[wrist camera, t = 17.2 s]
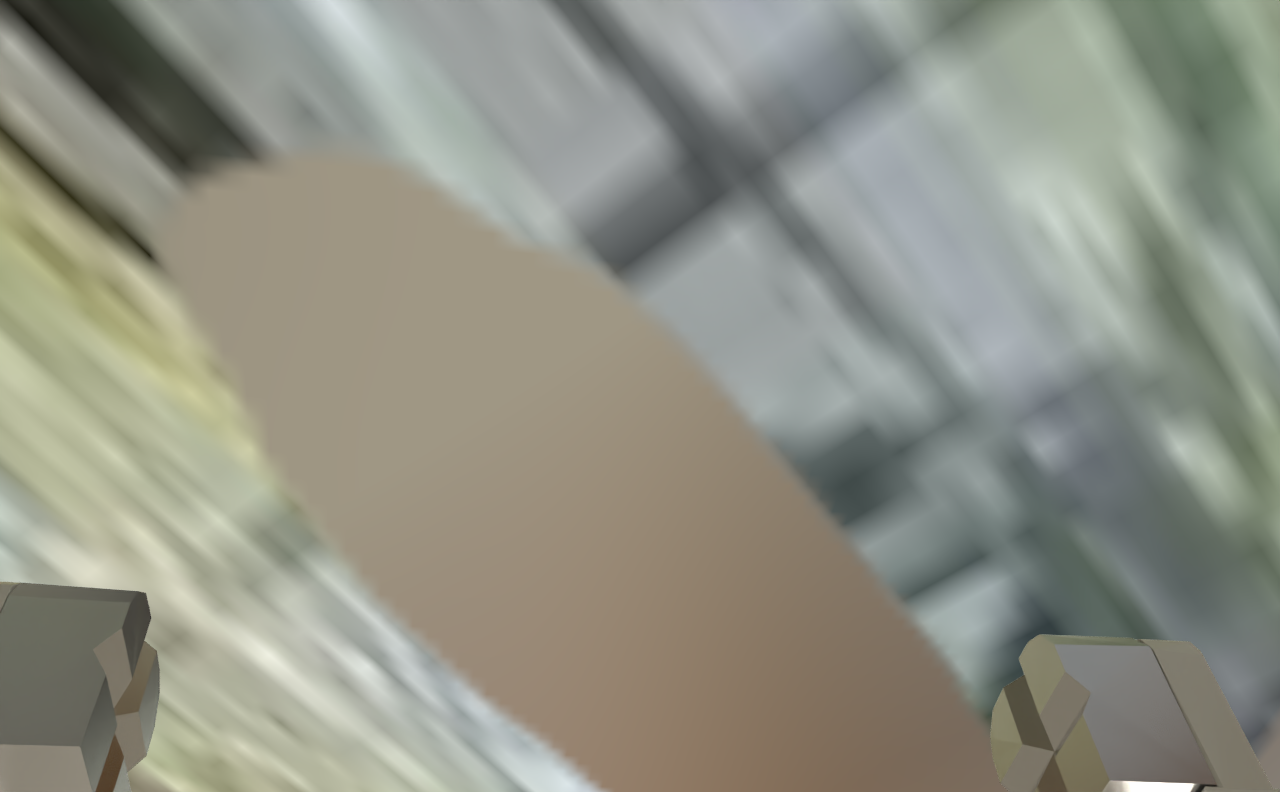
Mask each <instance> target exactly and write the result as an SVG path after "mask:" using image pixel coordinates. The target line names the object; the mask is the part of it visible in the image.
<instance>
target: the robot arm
mask: <svg viewBox="0 0 1280 792" xmlns="http://www.w3.org/2000/svg"><path fill="white" fill-rule="evenodd" d="M150 621H151V614H150V609H149V605H148V600H147V595H146V593H144V592H139V591H125V590H112V589H99V588H85V587H72V586H58V585H45V584H31V583H13V582H0V792H131V789H130V784H129V779H128V774H127V772H128V771H129V770H131V769H132V768H133V767H134V766H135V765H136V764H138V763H139V762H140V761H141V760H142V759H143V758H144V757H146V756H147V752H148V748H149V745H150V741H151V738H152V734H153V730H154V727H155V720H156V714H157V707H158V700H159V694H160V669H159V662H158V655H157V651H156V650H155V649H154V648H153V647H151V646H150V645H149V644H148V643H147V642H145V641H144V640H145V637H146V633H147V630H148V627H149V624H150ZM1019 661H1020V663H1021V666H1022V669H1023V672H1024V674H1025V675H1023V676H1022V677H1020V678H1018V679H1017V680H1015V681H1014V682H1012V683H1010V684H1009V685H1007V686H1005V687H1004V688H1003V689H1002V692H1001V694H1000V696H999V698H998V700H997V702H996V704H995V706H994V709H993V713H992V723H991V733H990V740H991V747H992V755H993V761H994V764H995V767H996V770H997V774H998V777H999V780H1000V783H1001V784H1002V785H1003V786H1004V787H1005V788H1006V789H1007V790H1008V791H1009V792H1280V789H1273V788H1272V786H1271V784H1270V782H1269V780H1268V778H1267V776H1266V774H1265V772H1264V771H1263V769H1262V767H1261V765H1260V763H1259V761H1258V759H1257V757H1256V755H1255V753H1254V751H1253V750H1252V748H1251V746H1250V744H1249V742H1248V740H1247V738H1246V736H1245V734H1244V732H1243V731H1242V729H1241V727H1240V725H1239V723H1238V721H1237V719H1236V717H1235V715H1234V713H1233V711H1232V710H1231V708H1230V706H1229V704H1228V702H1227V700H1226V698H1225V696H1224V694H1223V692H1222V691H1221V689H1220V687H1219V685H1218V683H1217V681H1216V679H1215V677H1214V675H1213V673H1212V671H1211V670H1210V668H1209V666H1208V664H1207V662H1206V660H1205V658H1204V656H1203V654H1202V653H1201V651H1200V650H1199V649H1197V648H1196V647H1195V646H1194V645H1193V644H1192V643H1191V642H1187V641H1167V640H1147V639H1138V640H1135V639H1133V638H1123V637H1095V636H1067V635H1038V636H1036V637H1035V638H1033V639H1032V640H1030V641H1029V642H1028V643H1027V645H1026V647H1025V649H1024V650H1023V652H1022V654H1021V656H1020V657H1019Z"/></svg>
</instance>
